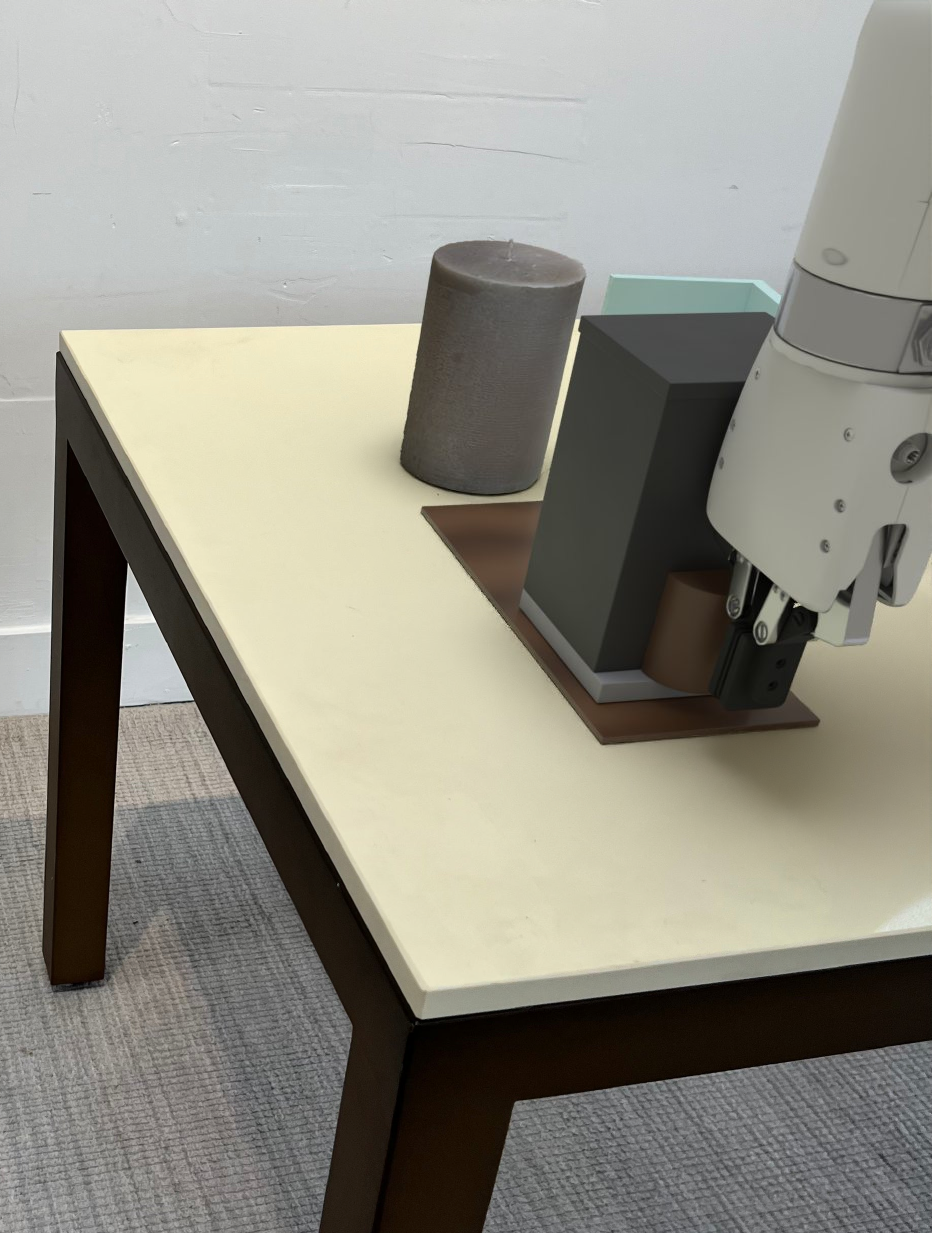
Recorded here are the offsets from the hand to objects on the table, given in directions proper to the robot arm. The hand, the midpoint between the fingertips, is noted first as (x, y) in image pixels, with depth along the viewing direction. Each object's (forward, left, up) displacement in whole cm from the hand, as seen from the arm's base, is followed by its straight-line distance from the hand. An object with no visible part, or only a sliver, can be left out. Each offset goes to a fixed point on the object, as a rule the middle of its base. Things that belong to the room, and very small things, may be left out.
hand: (744, 699), depth 67 cm
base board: (+4, -14, -3) cm, 15 cm away
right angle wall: (-8, -49, -3) cm, 49 cm away
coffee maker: (+3, -9, -3) cm, 10 cm away
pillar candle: (+10, -33, -3) cm, 34 cm away
